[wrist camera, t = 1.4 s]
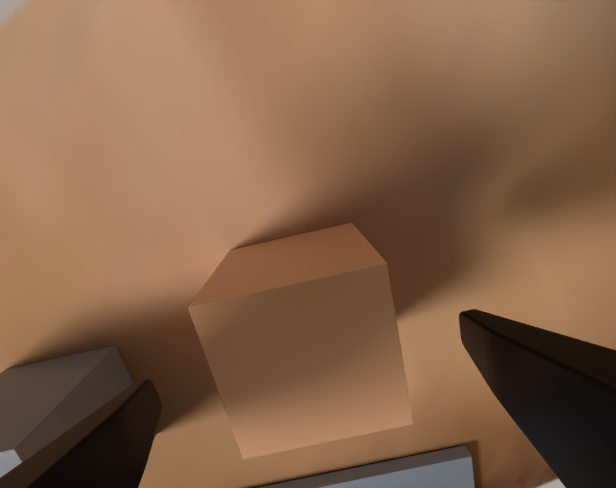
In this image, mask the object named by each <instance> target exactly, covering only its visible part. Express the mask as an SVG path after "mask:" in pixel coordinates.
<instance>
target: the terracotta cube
mask: <svg viewBox="0 0 616 488" xmlns="http://www.w3.org/2000/svg"><path fill="white" fill-rule="evenodd" d="M188 310H189V313H190V315H191V318H192V321H193V324H194V326H195V329H196V332H197V334H198V337H199V340H200V343H201V345H202V348H203V351H204V353H205V356H206V359H207V362H208V364H209V367H210V370H211V372H212V375H213V378H214V381H215V383H216V386H217V389H218V391H219V394H220V397H221V400H222V402H223V405H224V408H225V410H226V413H227V416H228V419H229V421H230V424H231V427H232V429H233V432H234V435H235V438H236V440H237V443H238V446H239V448H240V451H241V454H242V457H243V459H249V458H253V457H258V456H263V455H268V454H273V453H278V452H282V451H287V450H292V449H297V448H302V447H306V446H311V445H316V444H321V443H326V442H331V441H335V440H340V439H345V438H350V437H355V436H359V435H364V434H369V433H374V432H379V431H384V430H388V429H393V428H398V427H403V426H408V425H412V424H413V420H412V414H411V407H410V401H409V395H408V389H407V383H406V376H405V370H404V364H403V358H402V352H401V345H400V339H399V333H398V327H397V321H396V314H395V308H394V302H393V296H392V290H391V283H390V277H389V271H388V265H387V262H386V261H385V260H384V259H383V258H382V257H381V255H380V254H379V253H378V252H377V251H376V250H375V249H374V247H373V246H372V245H371V244H370V243H369V242H368V240H367V239H366V238H365V237H364V236H363V235H362V234H361V232H360V231H359V230H358V229H357V228H356V227H355V225H354V224H353V223H348V224H343V225H339V226H334V227H330V228H325V229H321V230H317V231H312V232H308V233H303V234H299V235H295V236H290V237H286V238H281V239H277V240H272V241H268V242H264V243H259V244H255V245H250V246H246V247H241V248H237V249H233V250H230V251H229V252H228V253H227V255H226V256H225V258H224V259H223V260H222V262H221V263H220V264H219V266H218V267H217V268H216V270H215V271H214V272H213V274H212V275H211V277H210V278H209V279H208V281H207V282H206V283H205V285H204V286H203V287H202V289H201V290H200V291H199V293H198V294H197V296H196V297H195V298H194V300H193V301H192V302H191V304H190V305H189V306H188Z"/></svg>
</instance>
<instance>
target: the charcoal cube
mask: <svg viewBox="0 0 616 488" xmlns="http://www.w3.org/2000/svg"><path fill="white" fill-rule="evenodd" d="M132 384H133V382H132V380H131V377H130V375H129V373H128V371H127V369H126V366H125V364H124V362H123V360H122V358H121V355H120V353H119V351H118V349H117V347H116V345H114V346H109V347H105V348H100V349H96V350H91V351H86V352H82V353H77V354H73V355H68V356H64V357H59V358H55V359H50V360H46V361H41V362H36V363H32V364H27V365H23V366H18V367H14V368H9V369H6V370H4V371H3V372H2V373H0V478H1V477H2V476H4V475H5V474H6V473H8V472H9V471H11V470H12V469H13V468H15V467H16V466H18V465H19V464H20V463H22V462H23V461H25V460H26V459H27V458H29V457H30V456H32V455H33V454H35V453H36V452H37V451H39V450H40V449H42V448H43V447H44V446H46V445H47V444H49V443H50V442H51V441H53V440H54V439H56V438H57V437H58V436H60V435H61V434H63V433H64V432H66V431H67V430H68V429H70V428H71V427H73V426H74V425H75V424H77V423H78V422H80V421H81V420H82V419H84V418H85V417H87V416H88V415H90V414H91V413H92V412H94V411H95V410H97V409H98V408H99V407H101V406H102V405H104V404H105V403H106V402H108V401H109V400H111V399H112V398H113V397H115V396H116V395H118V394H119V393H121V392H122V391H123V390H125V389H126V388H128V387H129V386H130V385H132ZM155 436H156V432H155ZM155 436H154V438H155ZM153 440H154V439H153Z"/></svg>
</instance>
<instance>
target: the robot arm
mask: <svg viewBox="0 0 616 488" xmlns="http://www.w3.org/2000/svg"><path fill="white" fill-rule="evenodd" d="M459 323H460V333H461V340H462V343H463V345H464V347H465V349H466V350H467V352H468V354H469V355H470V357H471V358H472V360H473V362H474V363H475V365H476V366H477V368H478V370H479V371H480V373H481V374H482V376H483V378H484V379H485V381H486V383H487V384H488V386H489V387H490V389H491V390H492V392H493V393H494V395H495V396H496V398H497V399H498V400H499V402H500V403H501V404H502V406H503V407H504V408H505V409H506V411H507V412H508V413H509V415H510V416H511V417H512V419H513V420H514V421H515V422H516V424H517V425H518V426H519V428H520V429H521V430H522V431H523V433H524V434H525V435H526V437H527V438H528V439H529V441H530V442H531V443H532V444H533V446H534V447H535V448H536V450H537V451H538V452H539V453H540V455H541V456H542V457H543V459H544V460H545V461H546V463H547V464H548V465H549V466H550V468H551V469H552V470H553V472H554V473H555V474H556V475H557V477H558V478H559V479H560V481H561V482H562V483H563V485H564V486H565V487H566V488H616V350H613V349H609V348H606V347H603V346H599V345H596V344H592V343H589V342H585V341H582V340H579V339H575V338H572V337H568V336H565V335H561V334H558V333H555V332H551V331H548V330H544V329H541V328H538V327H534V326H531V325H527V324H524V323H520V322H517V321H514V320H510V319H507V318H503V317H500V316H496V315H493V314H490V313H486V312H483V311H479V310H476V309H472V310H468V311H463V312H461V313H460V314H459ZM161 410H162V403H161V400H160V398H159V395H158V393H157V391H156V388H155V386H154V384H153V382H152V381H151V380H143V381H138V382H135V383H133V384H132V385H130V386H129V387H128V388H126V389H125V390H123V391H122V392H121V393H119V394H118V395H116V396H115V397H113V398H112V399H111V400H109V401H108V402H106V403H105V404H104V405H102V406H101V407H99V408H98V409H97V410H95V411H94V412H92V413H91V414H90V415H88V416H87V417H85V418H84V419H82V420H81V421H80V422H78V423H77V424H75V425H74V426H73V427H71V428H70V429H68V430H67V431H66V432H64V433H63V434H61V435H60V436H58V437H57V438H56V439H54V440H53V441H51V442H50V443H49V444H47V445H46V446H44V447H43V448H42V449H40V450H39V451H37V452H36V453H35V454H33V455H32V456H30V457H29V458H27V459H26V460H25V461H23V462H22V463H20V464H19V465H18V466H16V467H15V468H13V469H12V470H11V471H9V472H8V473H6V474H5V475H4V476H2V477H1V478H0V488H138V486H139V484H140V481H141V478H142V476H143V473H144V470H145V467H146V464H147V460H148V457H149V454H150V450H151V447H152V443H153V439H154V436H155V432H156V429H157V425H158V422H159V418H160V414H161Z"/></svg>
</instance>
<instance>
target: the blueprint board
mask: <svg viewBox="0 0 616 488" xmlns="http://www.w3.org/2000/svg"><path fill="white" fill-rule="evenodd" d="M258 488H475V486H474V476H473V466H472V456H471V455H470V453H469V451H468V450H467V448H466V446H465V445H464V446H459V447H454V448H449V449H444V450H439V451H434V452H429V453H425V454H420V455H415V456H410V457H405V458H400V459H395V460H390V461H385V462H381V463H376V464H371V465H366V466H361V467H356V468H351V469H346V470H341V471H337V472H332V473H327V474H322V475H317V476H312V477H307V478H302V479H297V480H292V481H288V482H283V483H278V484H273V485H268V486H263V487H258Z"/></svg>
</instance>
